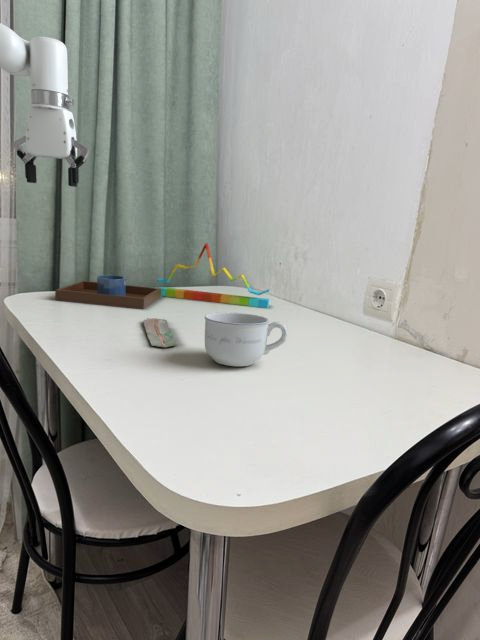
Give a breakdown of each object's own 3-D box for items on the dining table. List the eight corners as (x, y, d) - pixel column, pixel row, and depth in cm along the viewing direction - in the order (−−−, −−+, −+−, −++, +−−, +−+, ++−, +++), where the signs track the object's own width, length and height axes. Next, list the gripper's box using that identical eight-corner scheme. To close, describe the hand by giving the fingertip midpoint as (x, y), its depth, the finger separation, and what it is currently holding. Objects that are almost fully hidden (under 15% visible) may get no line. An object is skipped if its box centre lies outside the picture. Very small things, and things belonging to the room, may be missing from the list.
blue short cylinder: (92, 298, 124) (92, 277, 123) (103, 293, 130) (103, 274, 129) (120, 300, 124) (120, 280, 122) (129, 296, 130) (129, 276, 129)
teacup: (193, 365, 82) (195, 318, 80) (214, 349, 93) (217, 306, 90) (276, 379, 80) (281, 330, 77) (288, 360, 90) (293, 316, 88)
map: (151, 351, 89) (151, 346, 89) (142, 318, 108) (142, 314, 107) (180, 351, 91) (180, 346, 90) (166, 319, 109) (166, 315, 109)
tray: (55, 300, 120) (55, 289, 120) (82, 289, 135) (82, 280, 134) (143, 309, 119) (143, 298, 119) (161, 297, 134) (161, 288, 133)
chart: (268, 305, 136) (273, 249, 132) (267, 307, 133) (272, 250, 129) (160, 293, 140) (161, 238, 135) (156, 295, 137) (157, 239, 132)
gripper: (95, 109, 114) (95, 188, 119) (20, 103, 115) (24, 182, 120) (81, 102, 107) (82, 187, 112) (2, 96, 108) (6, 180, 112)
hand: (52, 184), depth 116 cm, fingers open, 9 cm apart
